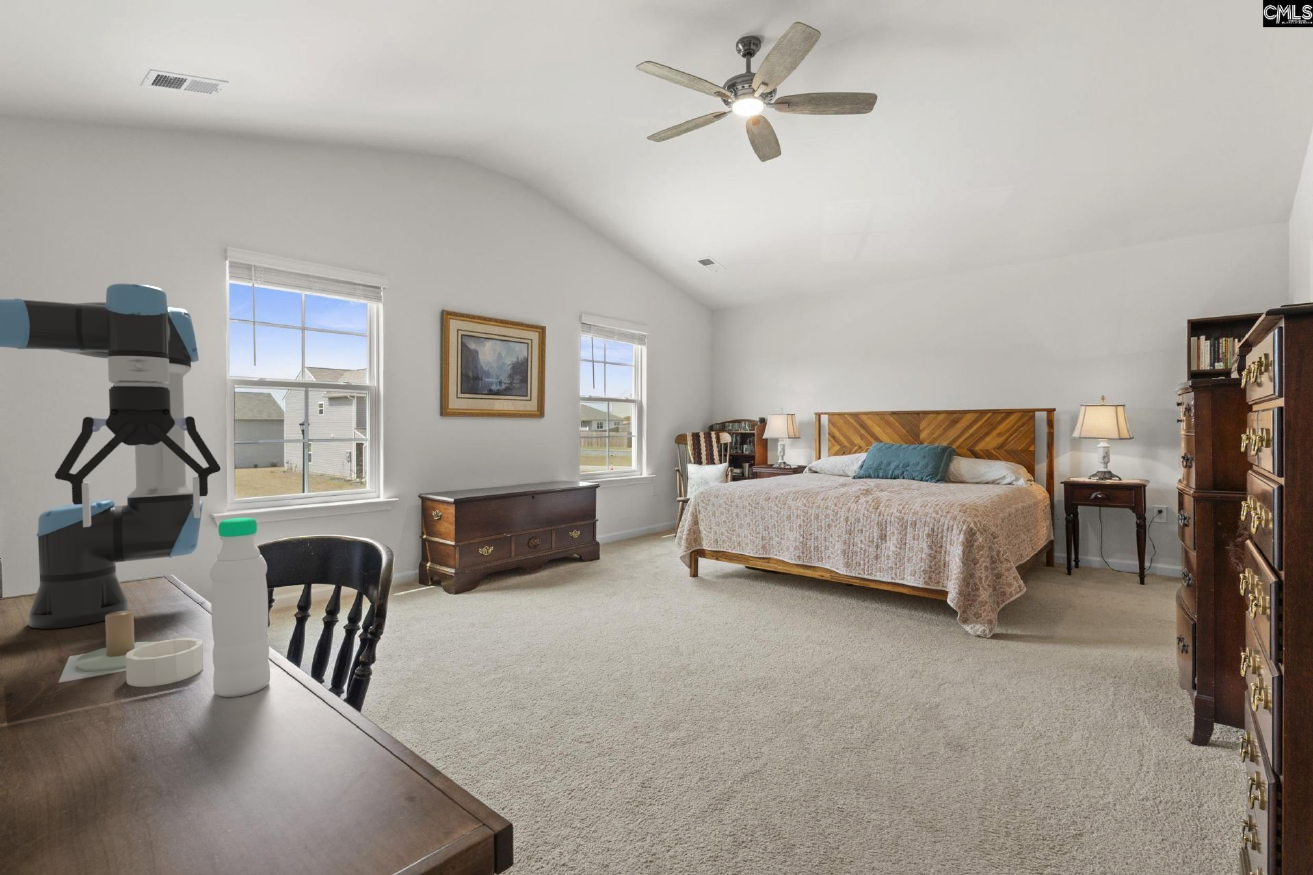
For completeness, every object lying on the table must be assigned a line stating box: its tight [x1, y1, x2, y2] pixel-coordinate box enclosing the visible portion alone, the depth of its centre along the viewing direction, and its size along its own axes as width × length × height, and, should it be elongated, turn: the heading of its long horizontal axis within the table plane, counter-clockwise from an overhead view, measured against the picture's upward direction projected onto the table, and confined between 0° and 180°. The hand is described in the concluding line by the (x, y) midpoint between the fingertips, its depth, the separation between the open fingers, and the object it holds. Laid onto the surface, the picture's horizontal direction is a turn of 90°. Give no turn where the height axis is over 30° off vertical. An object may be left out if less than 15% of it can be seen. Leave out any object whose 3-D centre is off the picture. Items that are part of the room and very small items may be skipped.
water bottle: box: [209, 517, 271, 698], centre depth 97 cm, size 7×7×25 cm
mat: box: [58, 652, 126, 684], centre depth 109 cm, size 14×14×1 cm
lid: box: [76, 610, 155, 671], centre depth 109 cm, size 11×11×8 cm
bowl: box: [125, 637, 204, 688], centre depth 102 cm, size 9×9×4 cm
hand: (144, 521), depth 104 cm, fingers open, 13 cm apart
